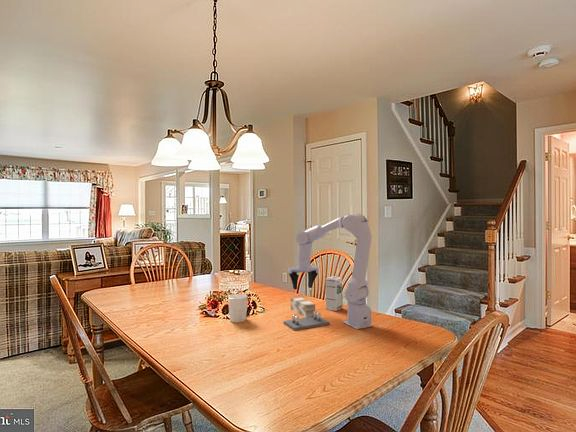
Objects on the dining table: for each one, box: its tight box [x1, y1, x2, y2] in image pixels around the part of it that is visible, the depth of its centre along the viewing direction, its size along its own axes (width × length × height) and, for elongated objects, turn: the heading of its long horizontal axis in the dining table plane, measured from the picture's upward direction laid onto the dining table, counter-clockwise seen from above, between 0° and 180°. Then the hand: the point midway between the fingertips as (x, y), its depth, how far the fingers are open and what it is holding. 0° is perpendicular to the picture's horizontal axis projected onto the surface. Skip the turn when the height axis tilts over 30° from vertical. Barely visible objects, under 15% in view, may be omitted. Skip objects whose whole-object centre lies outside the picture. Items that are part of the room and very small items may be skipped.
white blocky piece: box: [290, 296, 316, 318], centre depth 162 cm, size 14×4×6 cm, turn 27°
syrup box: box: [325, 275, 343, 312], centre depth 168 cm, size 6×6×14 cm
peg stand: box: [283, 310, 330, 331], centre depth 146 cm, size 16×9×4 cm, turn 117°
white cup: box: [227, 293, 248, 323], centre depth 151 cm, size 8×8×10 cm
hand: (302, 288), depth 162 cm, fingers open, 7 cm apart
